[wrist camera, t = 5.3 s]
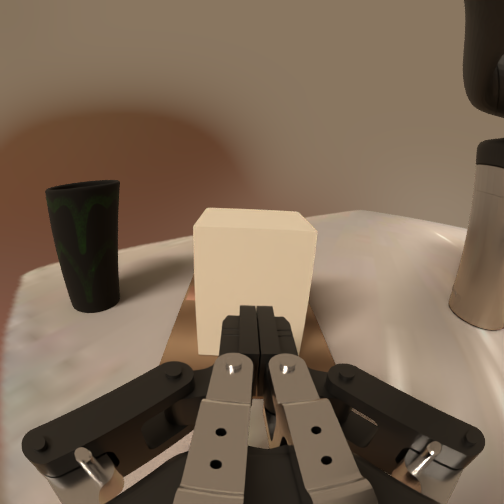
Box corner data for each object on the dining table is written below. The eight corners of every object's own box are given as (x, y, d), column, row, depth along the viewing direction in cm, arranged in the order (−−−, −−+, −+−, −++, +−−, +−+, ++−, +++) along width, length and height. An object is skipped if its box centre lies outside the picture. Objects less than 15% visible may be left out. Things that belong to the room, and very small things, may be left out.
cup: (96, 279, 30) (87, 180, 26) (142, 292, 28) (135, 179, 25) (51, 305, 23) (32, 191, 19) (95, 326, 21) (75, 190, 17)
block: (298, 356, 19) (317, 231, 16) (198, 354, 18) (193, 226, 15) (287, 313, 24) (298, 211, 21) (207, 311, 24) (206, 207, 21)
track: (339, 394, 16) (354, 348, 15) (156, 391, 16) (145, 344, 14) (283, 252, 44) (286, 227, 42) (206, 249, 43) (206, 224, 42)
